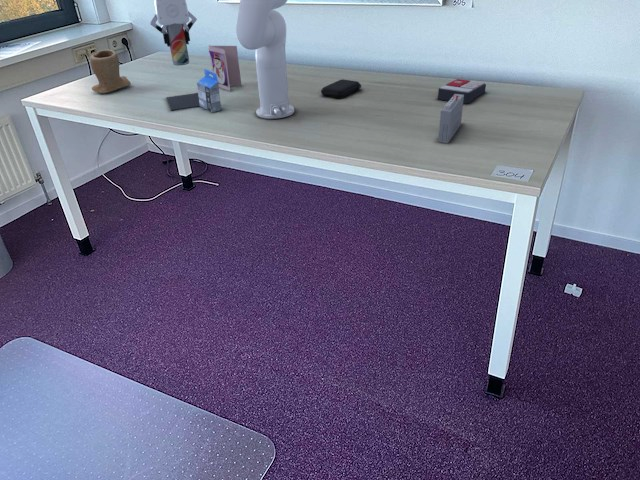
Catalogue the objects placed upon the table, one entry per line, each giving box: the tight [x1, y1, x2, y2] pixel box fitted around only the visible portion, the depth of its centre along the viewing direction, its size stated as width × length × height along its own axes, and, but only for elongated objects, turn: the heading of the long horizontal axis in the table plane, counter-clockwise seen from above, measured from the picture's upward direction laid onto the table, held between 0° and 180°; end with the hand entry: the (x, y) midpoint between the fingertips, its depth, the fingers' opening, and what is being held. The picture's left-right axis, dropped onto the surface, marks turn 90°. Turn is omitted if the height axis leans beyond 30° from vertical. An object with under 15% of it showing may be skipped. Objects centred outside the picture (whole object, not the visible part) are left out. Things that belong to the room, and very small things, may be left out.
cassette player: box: [437, 94, 464, 144], centre depth 148 cm, size 16×3×10 cm, turn 154°
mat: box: [166, 92, 202, 112], centre depth 188 cm, size 16×14×1 cm
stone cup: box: [89, 49, 131, 94], centre depth 202 cm, size 15×12×15 cm
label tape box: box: [196, 68, 222, 113], centre depth 176 cm, size 9×4×12 cm, turn 40°
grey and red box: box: [437, 78, 487, 105], centre depth 178 cm, size 11×4×15 cm
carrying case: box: [320, 78, 362, 99], centre depth 188 cm, size 11×3×15 cm
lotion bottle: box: [166, 23, 190, 67], centre depth 176 cm, size 6×6×20 cm
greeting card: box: [207, 45, 243, 92], centre depth 198 cm, size 11×7×15 cm, turn 42°
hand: (177, 44), depth 177 cm, fingers closed on lotion bottle, 5 cm apart
